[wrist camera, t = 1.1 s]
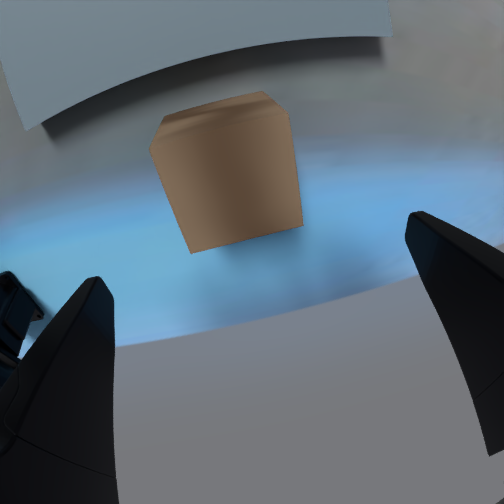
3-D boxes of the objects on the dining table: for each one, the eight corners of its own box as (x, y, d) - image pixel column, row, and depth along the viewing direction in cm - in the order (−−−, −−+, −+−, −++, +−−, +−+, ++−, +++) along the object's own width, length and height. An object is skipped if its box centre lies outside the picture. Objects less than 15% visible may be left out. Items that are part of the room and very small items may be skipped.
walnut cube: (192, 197, 20) (190, 254, 16) (164, 116, 16) (148, 148, 12) (278, 175, 20) (303, 225, 15) (262, 90, 16) (288, 112, 12)
